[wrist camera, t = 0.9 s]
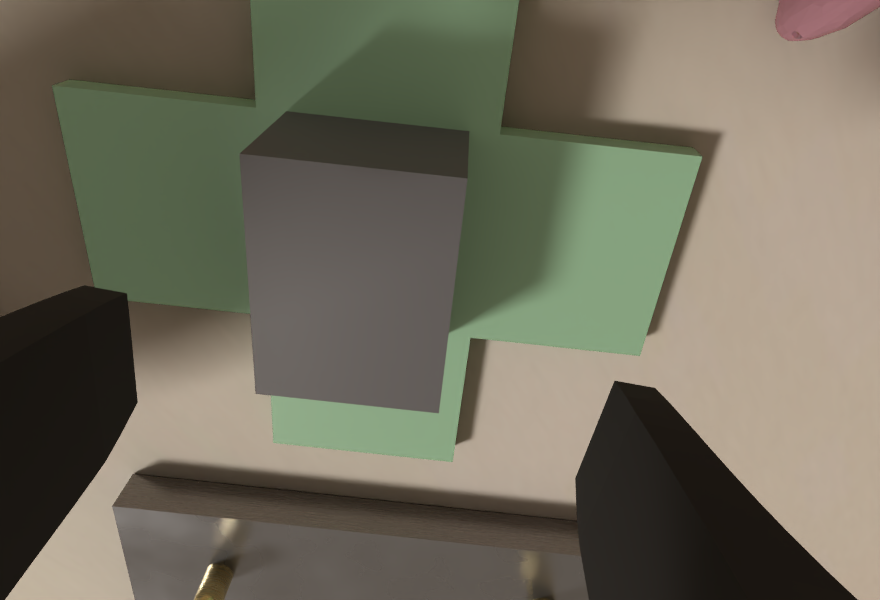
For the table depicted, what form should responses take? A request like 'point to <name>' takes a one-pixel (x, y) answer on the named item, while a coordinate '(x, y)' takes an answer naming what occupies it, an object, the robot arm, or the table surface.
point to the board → (394, 62)
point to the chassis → (334, 547)
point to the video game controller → (819, 16)
